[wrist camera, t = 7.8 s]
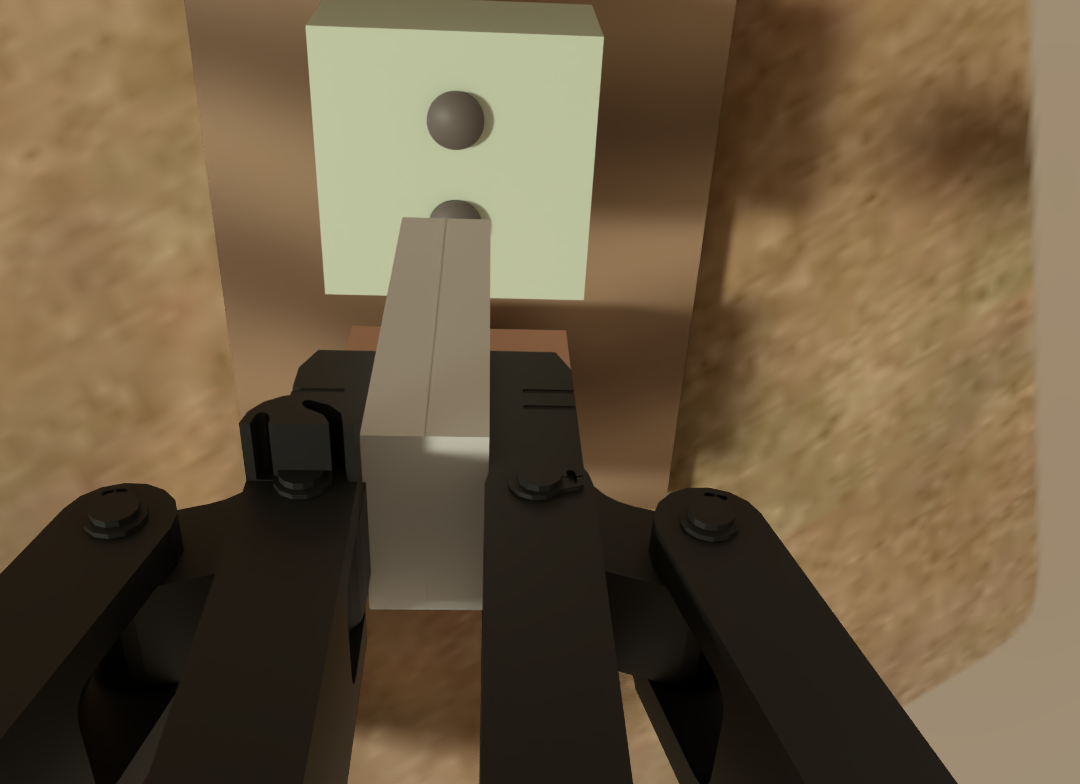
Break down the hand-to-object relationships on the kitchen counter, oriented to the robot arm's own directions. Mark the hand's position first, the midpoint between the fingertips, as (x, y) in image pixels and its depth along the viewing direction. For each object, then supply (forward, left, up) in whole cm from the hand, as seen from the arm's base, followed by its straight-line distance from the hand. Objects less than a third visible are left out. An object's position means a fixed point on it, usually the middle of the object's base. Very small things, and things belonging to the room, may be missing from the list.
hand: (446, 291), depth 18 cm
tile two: (0, 0, -8) cm, 8 cm away
